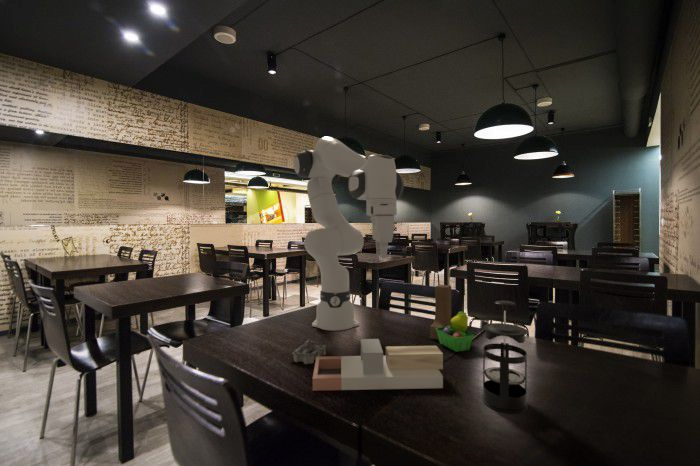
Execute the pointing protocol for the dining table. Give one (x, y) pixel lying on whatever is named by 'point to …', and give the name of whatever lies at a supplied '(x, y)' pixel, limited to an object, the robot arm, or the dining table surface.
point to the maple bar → (414, 357)
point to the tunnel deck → (369, 372)
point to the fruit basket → (456, 334)
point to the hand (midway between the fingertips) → (381, 256)
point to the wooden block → (441, 309)
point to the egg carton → (304, 352)
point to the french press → (505, 368)
